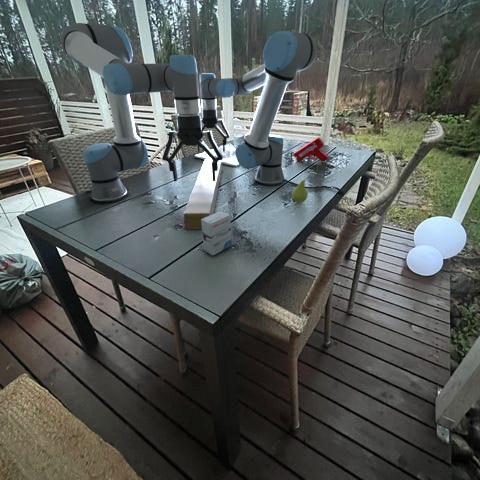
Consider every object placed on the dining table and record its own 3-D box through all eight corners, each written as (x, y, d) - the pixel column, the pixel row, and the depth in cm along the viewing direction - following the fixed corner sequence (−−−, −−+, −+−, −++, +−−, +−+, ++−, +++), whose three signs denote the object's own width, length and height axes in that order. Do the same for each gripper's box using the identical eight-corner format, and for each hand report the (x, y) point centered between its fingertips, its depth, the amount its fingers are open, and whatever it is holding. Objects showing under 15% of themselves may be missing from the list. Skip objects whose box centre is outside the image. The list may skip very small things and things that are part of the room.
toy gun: (332, 156, 168) (319, 135, 164) (331, 158, 165) (319, 137, 161) (306, 172, 178) (294, 152, 174) (305, 174, 175) (293, 154, 171)
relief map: (235, 166, 165) (235, 158, 162) (194, 157, 182) (193, 149, 179) (260, 156, 183) (260, 148, 180) (220, 148, 201) (220, 141, 198)
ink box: (222, 240, 95) (220, 209, 89) (232, 245, 92) (231, 214, 86) (203, 250, 90) (200, 218, 84) (212, 256, 87) (210, 224, 81)
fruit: (288, 200, 123) (290, 174, 116) (302, 197, 125) (305, 172, 119) (296, 206, 118) (299, 179, 111) (310, 203, 120) (314, 177, 114)
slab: (205, 170, 160) (205, 159, 156) (221, 170, 159) (221, 158, 156) (185, 229, 102) (183, 213, 98) (210, 229, 102) (209, 213, 98)
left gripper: (145, 116, 81) (157, 183, 93) (227, 116, 81) (229, 183, 93) (151, 113, 88) (162, 176, 99) (228, 112, 88) (230, 176, 99)
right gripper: (183, 109, 135) (187, 152, 146) (233, 109, 135) (234, 152, 146) (186, 107, 141) (190, 149, 153) (233, 107, 141) (234, 149, 152)
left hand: (195, 180), depth 96 cm, fingers open, 13 cm apart
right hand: (211, 151), depth 149 cm, fingers open, 13 cm apart
